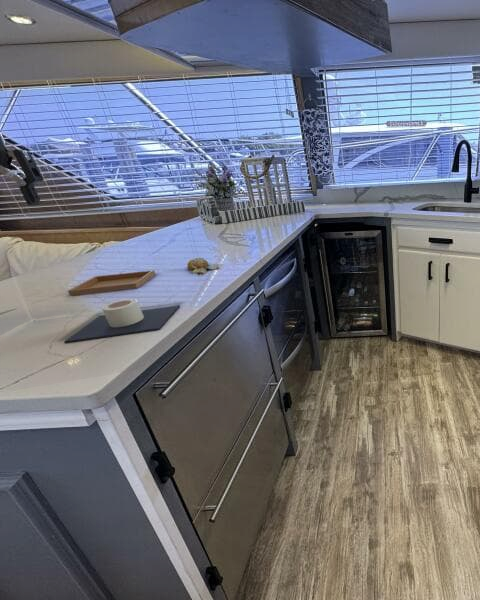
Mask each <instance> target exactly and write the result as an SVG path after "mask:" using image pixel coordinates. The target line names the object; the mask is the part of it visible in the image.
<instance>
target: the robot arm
mask: <svg viewBox="0 0 480 600" xmlns="http://www.w3.org/2000/svg"><path fill="white" fill-rule="evenodd" d="M13 160H14V161H16V162H17V163H18V164H19V167H20V168H21V169H20V168H19V167H18V166H16V165H15V164H13ZM0 175H3V176H4V177H6V178H9V179H11V180H12V181H14V182H15V183H16V184H18V185H20V186H18V189H19V190H20V192H21V194H22V196H23V199H24V200H25V203H26V205H28V206H37V205H40V202H41V198H40V196H39V193H38V192H37V189H36V187H35V185H36V184H37V183H40V182H43V181H44V176H43V175H42V173H41V170H40V169H39V167H38V165H37V163H36V161H35V159H34V158H33V156H32V154H31V152H30V151H29V150H28V149H27V150H26V149H13V150H10V149H8V148H7V147H6V141H5V138H4V136H3V134H2V132H1V131H0Z"/></svg>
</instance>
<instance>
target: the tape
mask: <svg viewBox="0 0 480 600" xmlns="http://www.w3.org/2000/svg"><path fill="white" fill-rule="evenodd" d="M101 309H102V313H103V315H105V316H106V319H107V321H108V323H109V325H110V327H124V326H128V325H132V324H134V323H137V322H139V321H141V320H142V319H143V318H144V316H143V313H142V311H141V310H142V307H141V305H140V304H139V301H138V299H136V298H125V299H119V300H115V301H112V302H109V303H107V304H105V305H103V306H102V307H101Z"/></svg>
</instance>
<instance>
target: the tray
mask: <svg viewBox="0 0 480 600" xmlns="http://www.w3.org/2000/svg"><path fill="white" fill-rule="evenodd" d="M155 276H156V272H155V270H154V269H152V270H144V271H134V272H133V271H132V272H123V273H114V274H105V275H103V274H102V275H96V276H93V277H90V278H88V279H87V280H86V281H83V282H82V283H80V284H78V285H76V286H74V287H72V288H70V289H68V290H67V292H68V294H69V296H71V297H74V296H75V297H76V296H85V295H95V294H102V293H111V292H118V291H119V292H120V291H128V290H136V289H139V288H140V287H142V286H143V285H144V284H146V283H147V282H148V281H150V280H152V278H154V277H155Z"/></svg>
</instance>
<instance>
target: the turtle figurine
mask: <svg viewBox="0 0 480 600" xmlns="http://www.w3.org/2000/svg"><path fill="white" fill-rule="evenodd" d="M220 267H221V266H220V265H217V266H215V265H210V264H209V262H208V261H207V260H206V259H205V258H203V257H197V258H194V259H190V260H189V261H188V262H187V270H188V271H191V272H192V273H193V274H199V275H203V274H204V275H205V274H206V273H207V269H211V270H217V269H219V268H220Z"/></svg>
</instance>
